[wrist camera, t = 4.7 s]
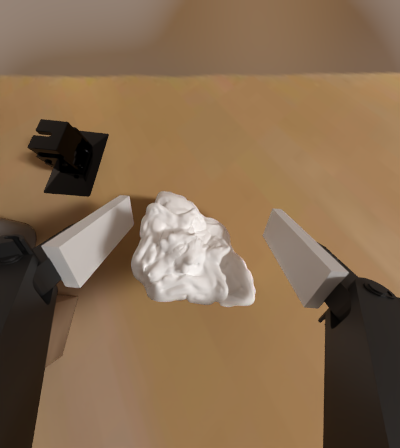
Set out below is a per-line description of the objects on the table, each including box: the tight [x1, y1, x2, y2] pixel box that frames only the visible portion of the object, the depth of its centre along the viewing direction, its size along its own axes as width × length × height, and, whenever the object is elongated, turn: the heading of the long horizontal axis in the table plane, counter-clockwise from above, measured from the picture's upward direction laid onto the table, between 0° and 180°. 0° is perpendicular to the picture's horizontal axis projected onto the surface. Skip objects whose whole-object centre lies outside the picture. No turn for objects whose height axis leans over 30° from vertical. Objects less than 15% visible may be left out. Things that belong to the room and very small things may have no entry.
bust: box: [131, 191, 256, 307], centre depth 12 cm, size 12×8×11 cm
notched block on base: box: [28, 119, 109, 197], centre depth 17 cm, size 12×7×5 cm, turn 174°
